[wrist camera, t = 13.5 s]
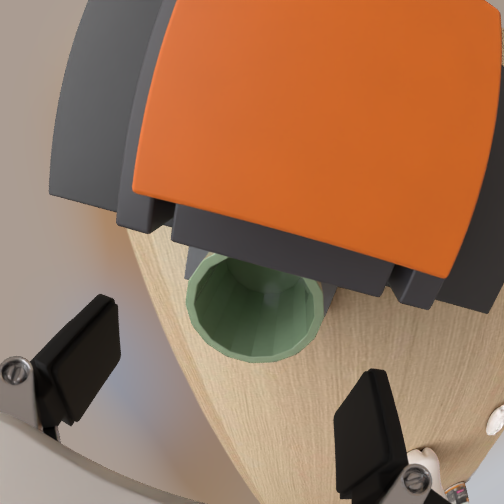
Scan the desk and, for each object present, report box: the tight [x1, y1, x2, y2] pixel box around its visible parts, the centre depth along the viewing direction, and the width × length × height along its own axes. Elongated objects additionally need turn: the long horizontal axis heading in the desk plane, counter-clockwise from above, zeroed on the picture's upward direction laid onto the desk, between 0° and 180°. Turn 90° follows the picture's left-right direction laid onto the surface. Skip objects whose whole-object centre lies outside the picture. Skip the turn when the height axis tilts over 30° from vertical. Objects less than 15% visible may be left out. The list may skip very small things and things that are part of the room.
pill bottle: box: [445, 482, 469, 504], centre depth 34 cm, size 6×6×10 cm
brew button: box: [132, 0, 502, 279], centre depth 3 cm, size 3×3×2 cm
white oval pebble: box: [486, 405, 504, 435], centre depth 26 cm, size 3×8×3 cm, turn 22°
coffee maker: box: [49, 0, 504, 317], centre depth 13 cm, size 16×12×18 cm
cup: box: [186, 252, 324, 363], centre depth 18 cm, size 7×7×8 cm
